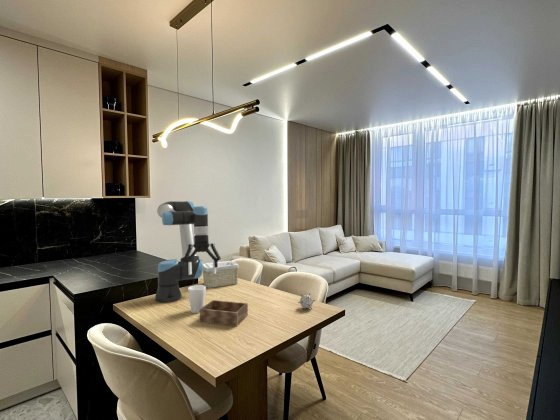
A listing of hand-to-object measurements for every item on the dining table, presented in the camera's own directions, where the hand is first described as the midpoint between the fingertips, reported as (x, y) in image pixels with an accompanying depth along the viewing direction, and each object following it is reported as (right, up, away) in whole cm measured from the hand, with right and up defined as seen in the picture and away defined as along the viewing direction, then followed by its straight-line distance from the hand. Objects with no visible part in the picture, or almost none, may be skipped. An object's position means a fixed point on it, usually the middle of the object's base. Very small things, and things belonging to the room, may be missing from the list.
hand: (202, 274), depth 162 cm
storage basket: (-1, -19, +55) cm, 58 cm away
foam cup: (-3, -21, +2) cm, 21 cm away
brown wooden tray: (+14, -21, -9) cm, 27 cm away
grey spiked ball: (+57, -21, +5) cm, 61 cm away
